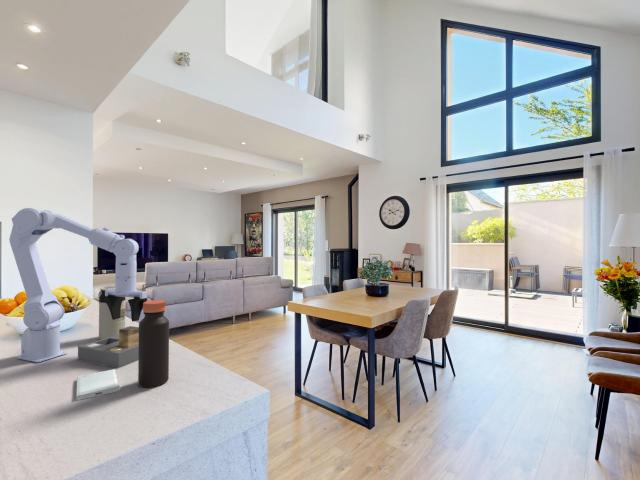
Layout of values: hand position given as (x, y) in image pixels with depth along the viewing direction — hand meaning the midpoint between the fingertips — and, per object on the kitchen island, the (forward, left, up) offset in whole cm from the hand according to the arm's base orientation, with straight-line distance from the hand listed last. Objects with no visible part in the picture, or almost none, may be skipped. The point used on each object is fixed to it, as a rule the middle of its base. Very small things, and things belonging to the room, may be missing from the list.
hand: (125, 319), depth 103 cm
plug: (+7, -4, -9) cm, 12 cm away
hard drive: (+15, -20, -11) cm, 27 cm away
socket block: (+2, -4, -10) cm, 11 cm away
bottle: (+26, -14, -10) cm, 31 cm away
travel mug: (-17, +9, -10) cm, 22 cm away
